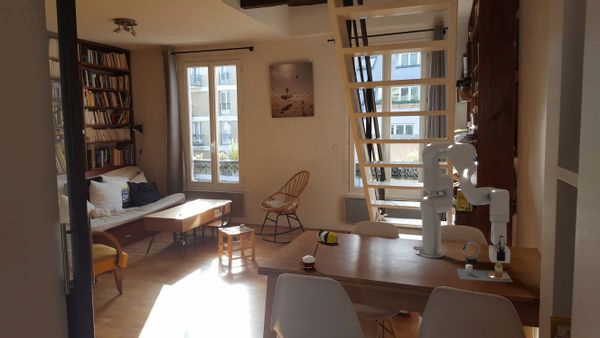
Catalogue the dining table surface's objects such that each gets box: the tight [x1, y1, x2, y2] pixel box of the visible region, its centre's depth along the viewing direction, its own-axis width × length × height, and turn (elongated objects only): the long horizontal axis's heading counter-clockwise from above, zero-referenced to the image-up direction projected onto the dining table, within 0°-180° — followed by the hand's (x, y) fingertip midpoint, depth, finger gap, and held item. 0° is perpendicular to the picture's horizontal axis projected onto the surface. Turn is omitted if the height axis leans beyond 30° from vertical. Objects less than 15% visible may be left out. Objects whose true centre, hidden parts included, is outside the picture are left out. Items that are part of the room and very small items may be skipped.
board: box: [456, 263, 514, 283], centre depth 186 cm, size 21×14×6 cm, turn 74°
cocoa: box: [299, 243, 319, 268], centre depth 206 cm, size 10×6×12 cm, turn 70°
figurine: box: [316, 228, 339, 244], centre depth 254 cm, size 8×15×8 cm, turn 44°
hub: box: [487, 262, 511, 280], centre depth 184 cm, size 9×9×6 cm
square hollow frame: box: [488, 244, 511, 264], centre depth 183 cm, size 7×7×6 cm
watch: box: [461, 241, 481, 264], centre depth 205 cm, size 6×8×11 cm
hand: (499, 258), depth 183 cm, fingers closed on square hollow frame, 7 cm apart
